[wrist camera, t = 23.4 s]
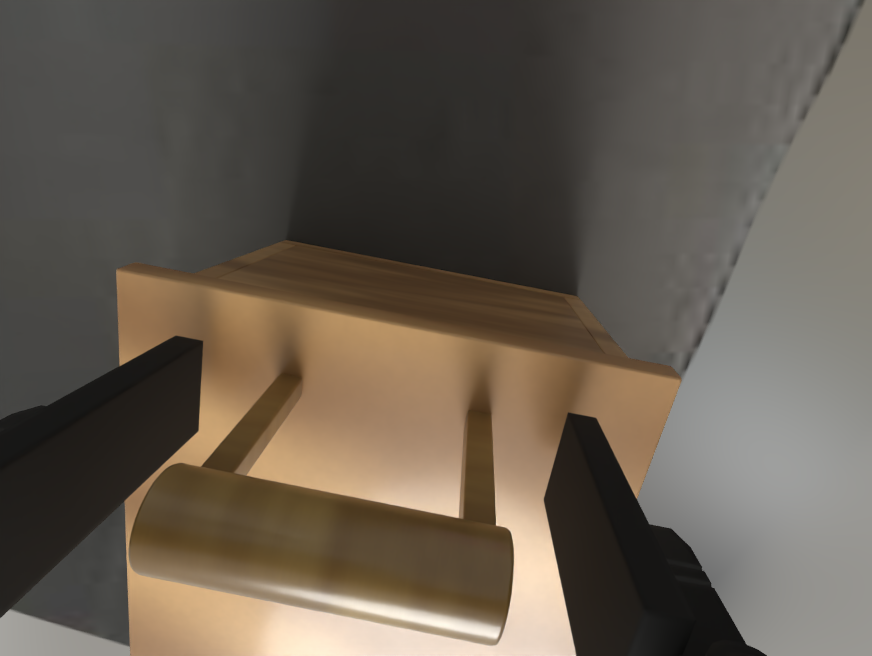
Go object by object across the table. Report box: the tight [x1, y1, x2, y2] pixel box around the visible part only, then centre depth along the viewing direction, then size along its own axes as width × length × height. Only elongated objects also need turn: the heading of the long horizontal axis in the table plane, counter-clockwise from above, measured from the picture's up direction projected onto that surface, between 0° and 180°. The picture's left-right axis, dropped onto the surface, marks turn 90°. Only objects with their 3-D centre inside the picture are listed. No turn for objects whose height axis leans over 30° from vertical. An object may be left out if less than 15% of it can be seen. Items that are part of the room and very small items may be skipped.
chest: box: [194, 240, 628, 358], centre depth 25 cm, size 18×16×12 cm
